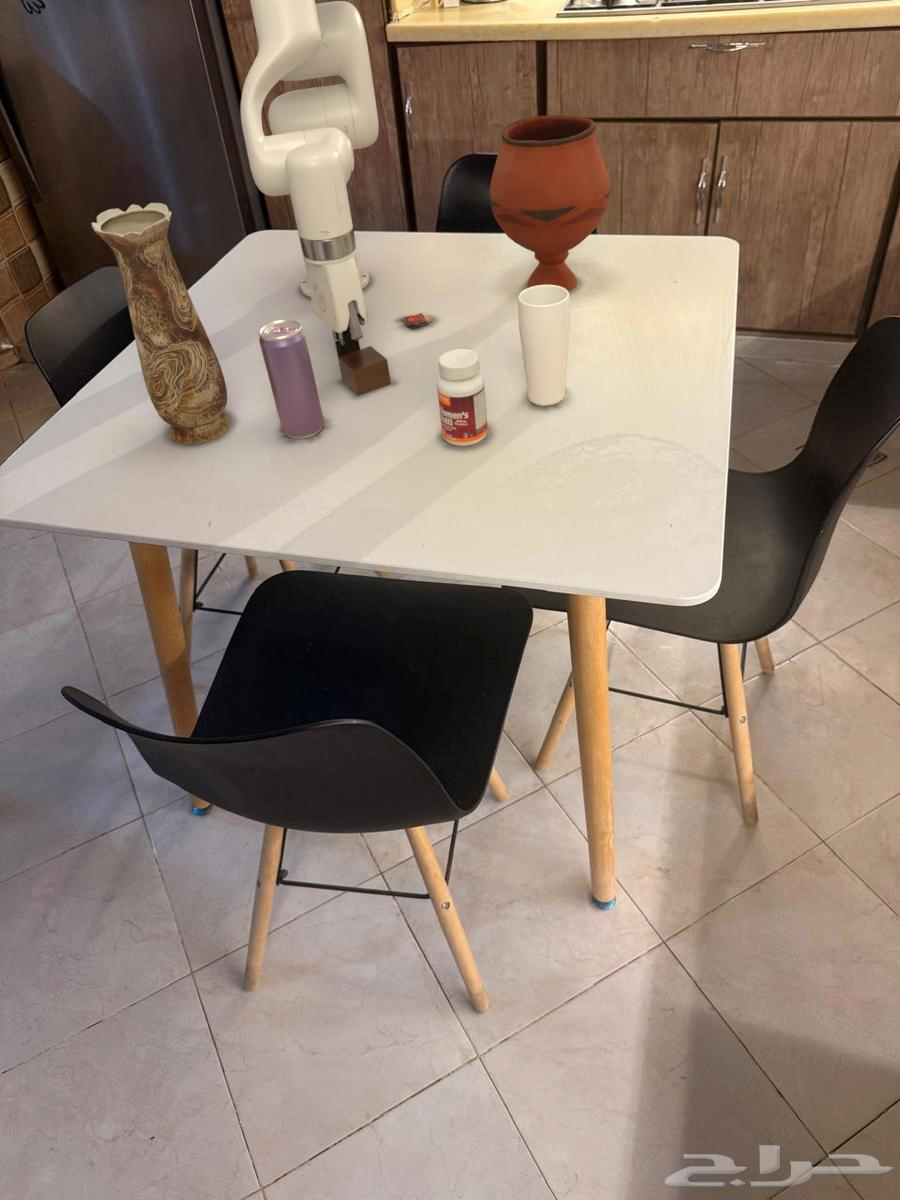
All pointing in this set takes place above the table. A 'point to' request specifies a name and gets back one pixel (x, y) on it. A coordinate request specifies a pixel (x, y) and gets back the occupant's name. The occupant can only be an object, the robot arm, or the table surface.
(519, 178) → the goblet
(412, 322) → the painted wall fragment
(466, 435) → the pill bottle
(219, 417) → the vase
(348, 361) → the walnut block
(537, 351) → the drinking glass
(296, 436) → the beverage can
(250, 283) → the table surface
